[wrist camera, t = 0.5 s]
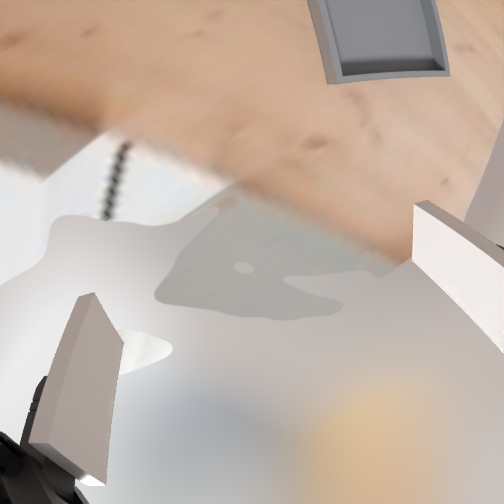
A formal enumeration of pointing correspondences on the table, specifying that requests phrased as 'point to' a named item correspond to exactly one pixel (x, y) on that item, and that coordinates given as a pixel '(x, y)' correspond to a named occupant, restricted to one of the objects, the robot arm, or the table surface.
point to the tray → (379, 39)
